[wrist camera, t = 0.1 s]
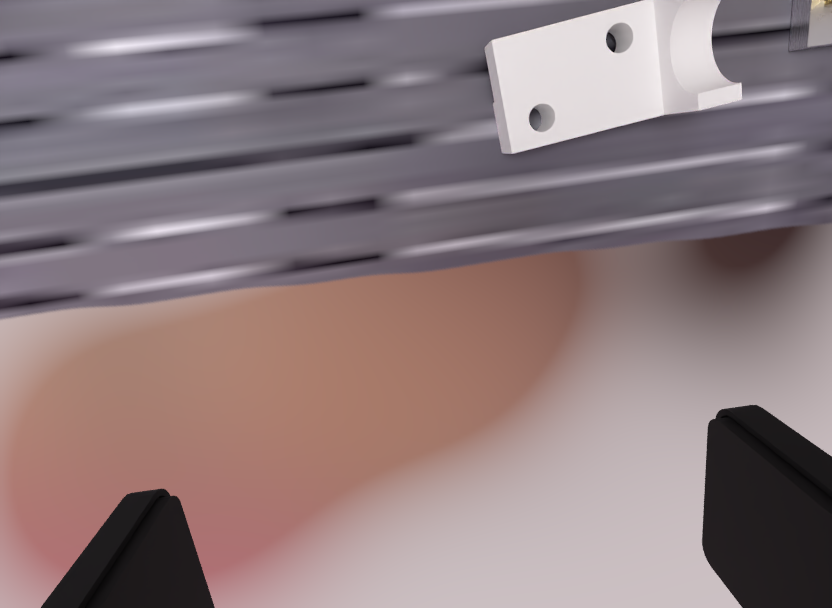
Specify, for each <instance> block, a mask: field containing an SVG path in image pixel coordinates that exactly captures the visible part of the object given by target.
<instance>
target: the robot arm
mask: <svg viewBox="0 0 832 608" xmlns="http://www.w3.org/2000/svg"><path fill="white" fill-rule="evenodd" d="M705 477H706V478H705V496H704V516H703V537H702V545H703V550H704V553H705V556H706V558H707V560H708V562H709V564H710V566H711V567H712V568H713V570H714V571H715V572H716V574H717V575H718V576H719V577H720V579H721V580H722V581H723V583H724V584H725V585H726V587H727V588H728V589H729V591H730V592H731V593H732V595H733V596H734V597H735V598H736V600H737V601H738V602H739V604H740V605H741V606H742V607H743V608H832V457H831V456H830V455H828V454H827V453H826V452H824V451H823V450H821V449H820V448H819V447H817V446H816V445H814V444H813V443H811V442H810V441H808V440H807V439H806V438H804V437H803V436H801V435H800V434H799V433H797V432H796V431H794V430H793V429H791V428H790V427H788V426H787V425H786V424H784V423H783V422H782V421H780V420H778V419H777V418H776V417H774V416H773V415H771V414H770V413H769V412H767V411H766V410H764V409H763V408H761V407H759V406H757V405H749V406H742V407H735V408H728V409H722V410H720V411H719V412H718V414H717V415H716V419H713V420H711V421H710V422H709V425H708V436H707V456H706V476H705ZM41 608H214V604H213V601H212V598H211V595H210V592H209V589H208V586H207V583H206V580H205V577H204V574H203V570H202V567H201V564H200V561H199V558H198V555H197V552H196V549H195V545H194V542H193V539H192V536H191V533H190V530H189V527H188V524H187V521H186V518H185V514H184V512H183V508H182V505H181V502H180V500H179V499H178V497H177V496H170V494H169V493H168V492H167V491H166V490H165V489H157V490H150V491H142V492H135V493H130V494H127V495H126V496H125V497H124V498H123V499H122V501H121V502H120V503H119V504H118V506H117V507H116V508H115V510H114V511H113V513H112V514H111V515H110V517H109V518H108V519H107V521H106V522H105V523H104V525H103V526H102V527H101V528H100V530H99V531H98V532H97V534H96V535H95V536H94V538H93V539H92V540H91V542H90V543H89V544H88V546H87V547H86V548H85V550H84V551H83V552H82V554H81V555H80V556H79V558H78V559H77V560H76V561H75V563H74V564H73V565H72V567H71V568H70V570H69V571H68V572H67V573H66V575H65V576H64V577H63V579H62V580H61V581H60V583H59V584H58V585H57V587H56V588H55V589H54V591H53V592H52V593H51V595H50V596H49V597H48V599H47V600H46V601H45V603H44V604H43V605H42V607H41Z"/></svg>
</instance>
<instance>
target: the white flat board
mask: <svg viewBox="0 0 832 608" xmlns="http://www.w3.org/2000/svg"><path fill="white" fill-rule="evenodd" d="M824 4H825V0H793V5H792V17H791V30H790V42H789V51H795V50H802V49H809V48H817V47H824V46H831V45H832V6H825V7H824Z"/></svg>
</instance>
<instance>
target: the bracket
mask: <svg viewBox="0 0 832 608" xmlns="http://www.w3.org/2000/svg"><path fill="white" fill-rule="evenodd" d="M720 1H721V0H643V1H639V2H635V3H632V4H628V5H624V6H620V7H616V8H613V9H609V10H605V11H601V12H597V13H593V14H590V15H586V16H582V17H578V18H574V19H571V20H567V21H563V22H559V23H555V24H552V25H548V26H544V27H540V28H536V29H533V30H529V31H525V32H521V33H517V34H514V35H510V36H506V37H502V38H498V39H495V40H491V41H490V43H489V44H488V45H487V46H486V47H485V48H484V49H485V54H486V60H487V65H488V70H489V76H490V81H491V86H492V92H493V97H494V103H493V108H494V113H495V118H496V124H497V129H498V135H499V140H500V145H501V151H502V153H504V154H514V153H518V152H522V151H525V150H529V149H533V148H537V147H541V146H545V145H549V144H553V143H557V142H560V141H564V140H568V139H572V138H576V137H580V136H584V135H588V134H592V133H595V132H599V131H603V130H607V129H611V128H615V127H619V126H623V125H627V124H631V123H634V122H638V121H642V120H646V119H650V118H654V117H658V116H662V115H667V114H676V113H684V112H692V111H700V110H703V109H707V108H711V107H715V106H719V105H723V104H727V103H731V102H735V101H738V100H742V86H741V83H734V82H731V81H729V80H727V79H726V78H725V77H724V76H723V75H722V74H721V72H720V71H719V69H718V67H717V65H716V63H715V60H714V56H713V51H712V42H711V35H712V25H713V20H714V16H715V13H716V10H717V7H718V5H719V3H720ZM607 32H609V33H611V34H612V35H613V36H614V38H615V40H616V49H615V51H614V52H612V51H611V50H610V49H609V48H608V46H607V44H606V35H607ZM533 108H535V109H537V110H538V111H539V113H540V115H541V124H540V126H539V128H538V129H537V130H536V131H535V130H534V129H533V128H532V127H531V126H530V123H529V114H530V112H531V110H532V109H533Z"/></svg>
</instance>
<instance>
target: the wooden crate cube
mask: <svg viewBox="0 0 832 608" xmlns="http://www.w3.org/2000/svg"><path fill="white" fill-rule="evenodd" d="M825 6H832V0H825V4H824V7H825Z"/></svg>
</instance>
